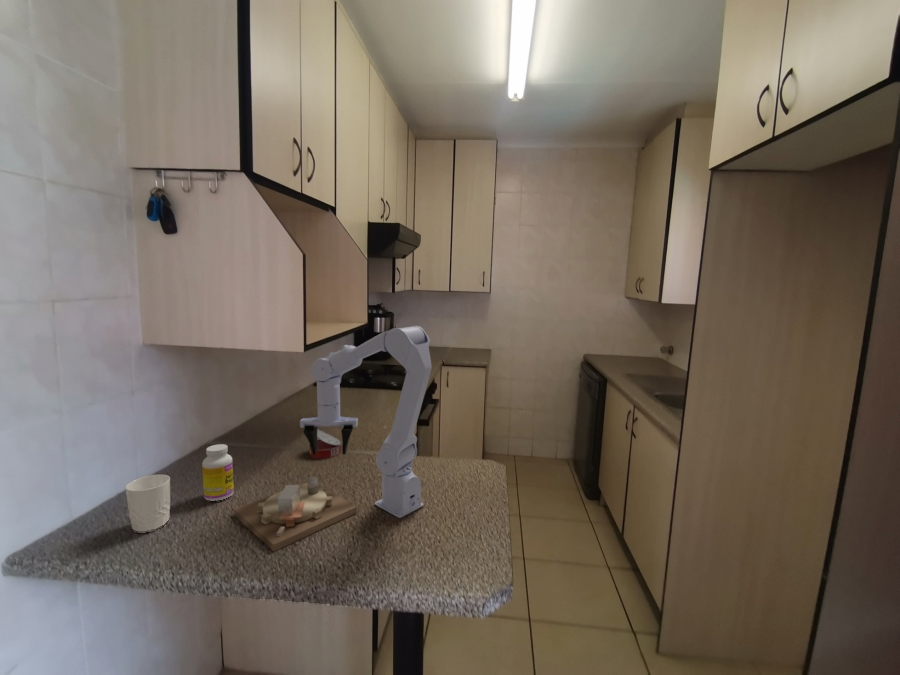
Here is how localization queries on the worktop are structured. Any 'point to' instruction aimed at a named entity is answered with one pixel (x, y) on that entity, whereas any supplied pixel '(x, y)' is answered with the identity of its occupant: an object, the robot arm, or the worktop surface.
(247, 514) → the base board
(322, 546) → the worktop surface
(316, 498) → the sprocket wheel
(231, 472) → the supplement bottle
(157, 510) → the white cup
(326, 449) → the canned food
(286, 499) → the link block
